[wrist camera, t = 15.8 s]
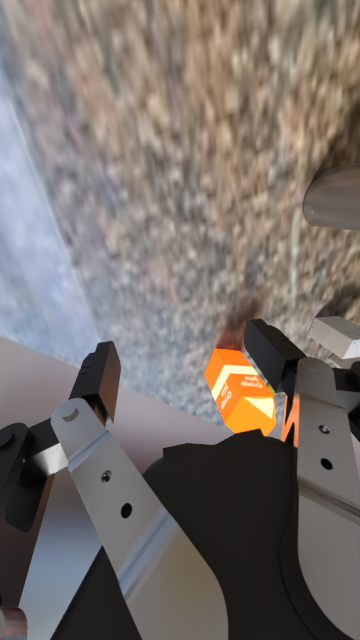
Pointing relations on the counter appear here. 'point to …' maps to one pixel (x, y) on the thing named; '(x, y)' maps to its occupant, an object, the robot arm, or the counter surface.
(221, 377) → the orange juice
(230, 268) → the counter surface
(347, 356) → the small box
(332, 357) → the supplement box
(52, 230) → the counter surface
